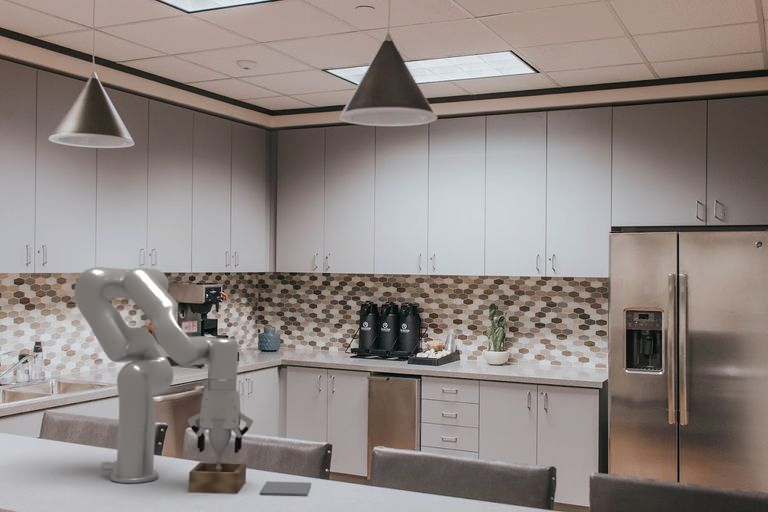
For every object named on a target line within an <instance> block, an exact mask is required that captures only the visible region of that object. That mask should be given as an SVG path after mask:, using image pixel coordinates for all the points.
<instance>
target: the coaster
mask: <svg viewBox="0 0 768 512" xmlns="http://www.w3.org/2000/svg"><path fill="white" fill-rule="evenodd" d="M310 486H311V487H312V482H305V481H304V482H303V481H302V482H299V481H266V482H265V483H264V485H263V487H262V488H261V490H260V491H259V496H283V497H284V496H287V497H292V496H293V497H308V494H309V492H310V489H311V487H310Z"/></svg>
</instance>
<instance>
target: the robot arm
mask: <svg viewBox="0 0 768 512" xmlns="http://www.w3.org/2000/svg"><path fill="white" fill-rule="evenodd" d="M169 285H170V284H169V280H168V277H167V276H166V275H165V273H164V272H163V271H161V270H159V269H156V268H155V269H154V268H145V267H136V268H132V269H128V268H127V269H126V268H115V267H102V266H98V267H91V268H88V269H86V270H84V271H82V272H81V273H80V275H79V276H78V277H77V279H76V282H75V286H74V300H75V304H76V306H77V308H78V310H79V312H80V313H81V315H82V316H83V318H84V319H85V321H86V322H87V324H88V325H89V327H90V329H91V331H92V333H93V335H94V336H95V338H96V340H97V341H98V343H99V345H100V347H101V348H102V350H103V352H104V354H105V355H106V357H107V358H108V359H109V360H110V361H111V362H114V363H127V364H125V365H123V366H122V367H121V369H120V370H119V372H118V374H117V378H116V385H117V393H118V405H119V407H118V431H117V432H118V435H117V452H116V453H117V456H116V460H114V461H113V462H110V461H103V462H101V465H100V466H101V470H103V471H111V472H112V473H110V474H109V475H110V476H109V479H110V480H111V481H113V482H116V483H121V484H122V483H123V484H136V483H137V484H140V483H147V482H152V481H155V480H158V478H159V476H160V472H159V471H157V470H154V463H155V462H154V460H155V443H156V442H155V441H156V440H155V439H156V438H155V437H156V436H155V435H156V419H157V418H156V413H157V411H156V403H155V400H154V396H153V394H159V393H161V392H164V391H166V390H168V389H169V388H170V387H171V385H172V383H173V381H174V370H173V367H172V364H171V363H170V360H169V359H168V358H167V356H168V357H169V358H170V359H171V360H172V361H174V363H176V364H178V365H179V366H183V367H190V366H196V365H197V366H199V365H205V364H208V365H207V379H205V380H204V379H203V380H202V381H201V385H202V386H204V387H206V389H205V390H203V393H202V397H201V404H200V405H201V406H200V411H199V412H198V413H196V414H195V415H193V416H191V417H189V418H188V419H187V422H188V425H189V427H190V429H191V430H192V431H193V432H194V433H195V434H196V437H197V445H196V446H197V449H198V451H199V453H202V452H204V451H205V444H206V435H205V431H207V430H208V431H209V430H212V429H213V425H214V423H213V422H212V421H211V420H210V419H213V420H226V421H225V422H224V423H223V429H224V430H231V431H232V432H233V433H234V434H235V435H236V436H235V438H234V451H233V452H234V454H238V453H239V452H240V450H242V446H243V445H242V441H243V436H244V435H246V433H247V432H249V430H250V428H251V427H252V425H253V423H254V420H253V419H252V418H250V417H248V416H247V415H245V414H244V413H243V412H241V399H240V398H241V396H240V392H239V390H238V389H237V380H238V379H237V378H238V358H239V357H238V356H239V355H238V353H239V344H238V341H237V340H236V339H234V338H229V337H228V338H227V337H219V338H218V337H217V338H215V337H209V336H204V335H203V336H196V335H195V336H189V335H188V334H187V333H186V332H185V331H184V330H183V329H182V328H181V326H180V325H179V324H178V322H177V321H176V318H175V315H176V313H177V312H178V308H179V304H178V302H177V301H176V300H175V299H174V298H173V297H172V295H171V294H170V293H169V292H168V290H169ZM108 299H130V300H131V301H132V302H133V303H134V304H135V306H137V308H139V310H140V311H141V312H142V313H143V314H144V316H146V319H148V320H149V321H150V323H151V324H152V330H153V334H152V333H151V332H149V330H147V329H145V328H143V327H130V326H129V324H127V322H126V321H125V320H124V318H123V317H122V315H121V313H120V312H119V310H118V309H117V308H116V306H114V305H113V304H112V303H111V302H110V301H109V300H108ZM165 353H166V354H167V355H166V354H165ZM197 420H199V426H198V425H197V424H196V421H197ZM242 421H243V422H245V426H244V427H243V428H241V427H240V425H241V422H242Z"/></svg>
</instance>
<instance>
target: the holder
mask: <svg viewBox="0 0 768 512" xmlns="http://www.w3.org/2000/svg"><path fill="white" fill-rule="evenodd" d="M220 465H221V467H222V469H221V471H220V472H217V470H216V469H215V468H216V467H217V462H216V461H215V462H213V461H211V462H210V461H208V462H207V461H200V462H199V463H198V464H196V466H195V467H193V468H192V469H191V470H190V471H189V472H188V493H202V494H203V493H204V494H208V493H209V494H235V495H236V494H238V493H239V492H240V491H241V489H242V488H243V487H244V485H245V484H246V481H247V479H246V478H247V477H246V476H247V463H246V462H221V464H220ZM244 483H245V484H244ZM241 487H242V488H241Z"/></svg>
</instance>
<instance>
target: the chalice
mask: <svg viewBox="0 0 768 512" xmlns="http://www.w3.org/2000/svg"><path fill="white" fill-rule="evenodd" d="M210 420H211V421H212V422H213V423H214V425H213V429H212V430H208V439H209V442H210V446H211V448H212V450H213V452H214V454H216V457H217V458H216V460H215V462H217V467H216V468H215V469H216V470H217V472H220V471H221V469H222V467H221V465H220V464H221V463H223V462H222V461H223V460H222V454H223V453H225V452H226V451H227V448H228V446H229V444H230V441H231V438H232V430H224V429H223V423H224V422H225V421H226V420H213V419H210Z"/></svg>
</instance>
